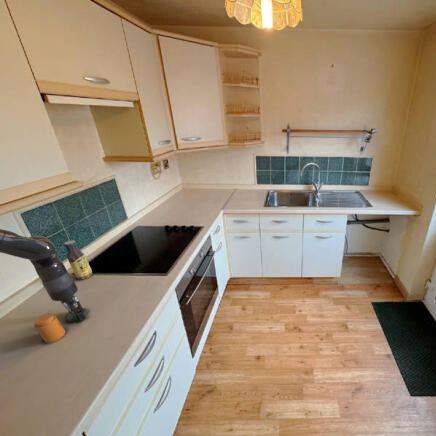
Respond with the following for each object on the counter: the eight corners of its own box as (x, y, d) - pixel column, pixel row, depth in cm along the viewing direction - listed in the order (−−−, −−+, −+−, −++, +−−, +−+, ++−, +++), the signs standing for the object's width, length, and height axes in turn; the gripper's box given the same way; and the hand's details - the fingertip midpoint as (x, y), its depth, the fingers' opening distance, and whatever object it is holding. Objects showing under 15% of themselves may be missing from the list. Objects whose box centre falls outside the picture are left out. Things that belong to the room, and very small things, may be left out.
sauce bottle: (87, 280, 112) (70, 246, 104) (74, 280, 112) (55, 246, 103) (96, 271, 118) (81, 238, 110) (84, 272, 118) (67, 239, 109)
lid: (87, 308, 96) (85, 305, 96) (87, 317, 92) (86, 314, 92) (68, 316, 93) (66, 313, 92) (68, 325, 89) (66, 322, 88)
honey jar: (49, 345, 81) (36, 327, 77) (41, 339, 83) (28, 322, 79) (68, 332, 86) (57, 315, 82) (60, 327, 88) (49, 310, 84)
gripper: (80, 284, 85) (97, 316, 92) (64, 273, 92) (81, 304, 99) (54, 298, 79) (74, 331, 86) (39, 284, 86) (59, 316, 93)
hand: (78, 316), depth 92 cm, fingers open, 6 cm apart
